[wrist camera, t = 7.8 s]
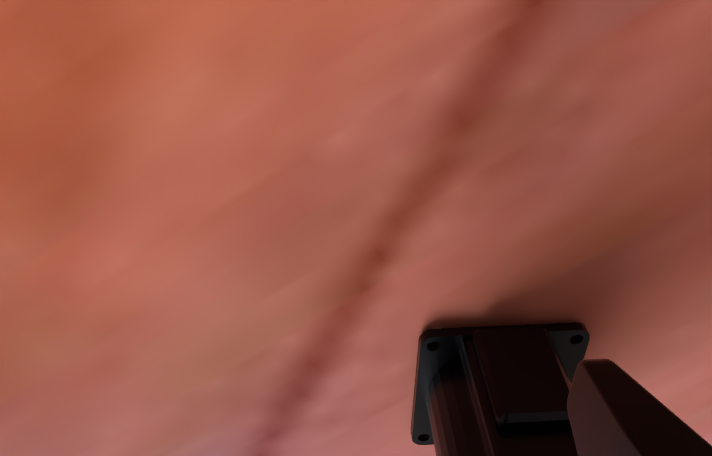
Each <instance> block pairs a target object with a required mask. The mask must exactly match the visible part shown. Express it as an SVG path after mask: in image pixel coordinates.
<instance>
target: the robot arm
mask: <svg viewBox="0 0 712 456" xmlns="http://www.w3.org/2000/svg"><path fill="white" fill-rule="evenodd" d="M574 335H576V336H574ZM589 336H590V335H589V333H588V331H587V329H586V327H585V326H584V325H583V324H581V323H556V324H534V325H513V326H491V327H470V328H448V329H431V330H427V331H425V332H423V333H422V334H421V335H420V337H419V343H418V354H417V365H416V377H415V388H414V399H413V410H412V421H411V435H412V441H413V442H414V443H415V444H418V445H430V444H434V446H435V451H436V456H712V446H711V445H710V444H709V443H708V442H707V441H705V440H704V439H703V438H702V437H701V436H700V435H698V434H697V433H696V432H695V431H694V430H693V429H691V428H690V427H689V426H688V425H687V424H686V423H684V422H683V421H682V420H681V419H680V418H679V417H677V416H676V415H675V414H674V413H673V412H671V411H670V410H669V409H668V408H667V407H666V406H664V405H663V404H662V403H661V402H660V401H659V400H657V399H656V398H655V397H654V396H653V395H652V394H650V393H649V392H648V391H647V390H646V389H645V388H643V387H642V386H641V385H640V384H639V383H638V382H636V381H635V380H634V379H633V378H632V377H631V376H629V375H628V374H627V373H626V372H625V371H624V370H622V369H621V368H620V367H619V366H618V365H616V364H615V363H614V362H612V361H611V360H608V359H589V360H583V359H584V355H585V352H586V349H587V345H588V342H589ZM430 342H435V343H430Z"/></svg>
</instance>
